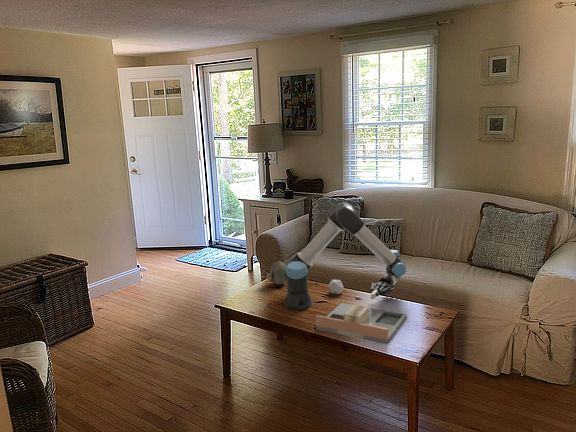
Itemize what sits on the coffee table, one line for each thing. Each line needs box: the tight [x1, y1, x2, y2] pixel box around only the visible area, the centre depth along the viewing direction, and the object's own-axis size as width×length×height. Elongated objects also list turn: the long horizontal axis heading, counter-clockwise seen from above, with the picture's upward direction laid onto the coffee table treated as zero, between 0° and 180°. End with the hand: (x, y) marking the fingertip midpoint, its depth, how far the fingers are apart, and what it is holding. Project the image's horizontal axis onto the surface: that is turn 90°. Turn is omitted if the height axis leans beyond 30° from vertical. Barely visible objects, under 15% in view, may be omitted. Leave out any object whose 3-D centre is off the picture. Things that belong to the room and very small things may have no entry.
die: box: [327, 279, 344, 295], centre depth 269 cm, size 8×9×10 cm
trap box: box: [315, 302, 408, 345], centre depth 228 cm, size 36×30×7 cm
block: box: [344, 304, 370, 324], centre depth 221 cm, size 8×12×8 cm, turn 150°
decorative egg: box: [269, 260, 287, 286], centre depth 288 cm, size 12×12×15 cm
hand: (372, 296), depth 239 cm, fingers closed
